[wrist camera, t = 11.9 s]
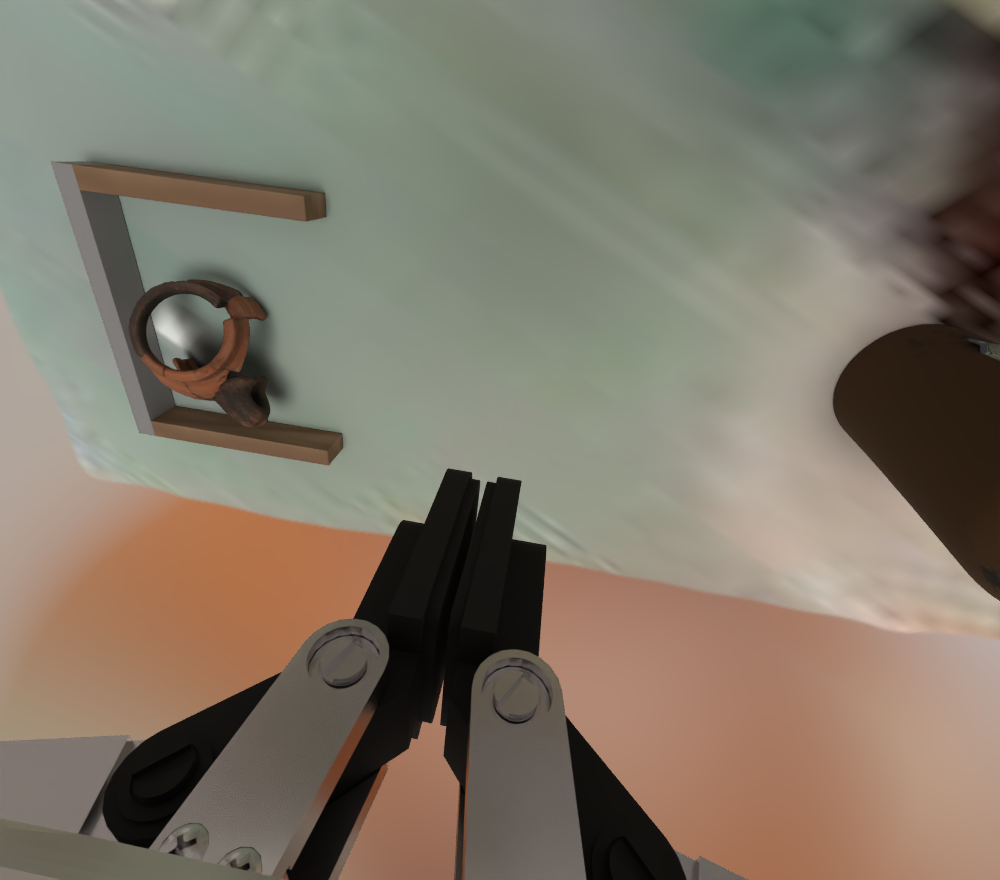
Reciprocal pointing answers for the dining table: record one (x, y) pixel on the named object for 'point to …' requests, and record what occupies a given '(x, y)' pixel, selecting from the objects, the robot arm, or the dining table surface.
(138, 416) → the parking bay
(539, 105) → the dining table surface
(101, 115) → the dining table surface
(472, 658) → the robot arm
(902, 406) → the olive oil
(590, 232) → the dining table surface
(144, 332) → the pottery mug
